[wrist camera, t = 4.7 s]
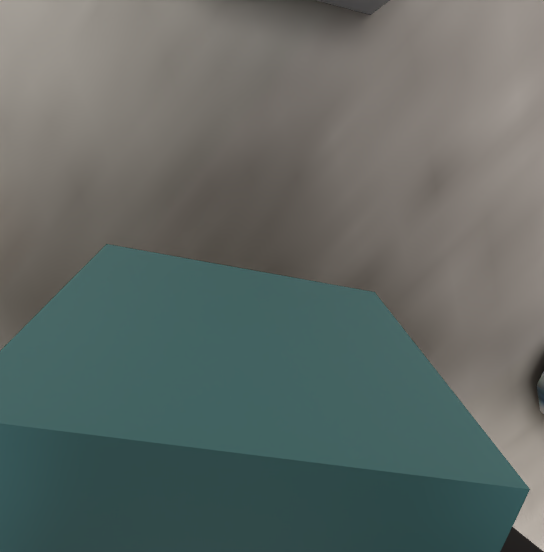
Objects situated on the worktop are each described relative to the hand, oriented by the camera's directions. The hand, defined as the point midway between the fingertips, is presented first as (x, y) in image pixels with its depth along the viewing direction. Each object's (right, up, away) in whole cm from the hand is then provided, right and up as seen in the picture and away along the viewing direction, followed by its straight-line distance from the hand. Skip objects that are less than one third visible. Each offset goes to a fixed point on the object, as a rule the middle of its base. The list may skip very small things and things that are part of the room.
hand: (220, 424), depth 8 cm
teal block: (0, 0, +1) cm, 1 cm away
